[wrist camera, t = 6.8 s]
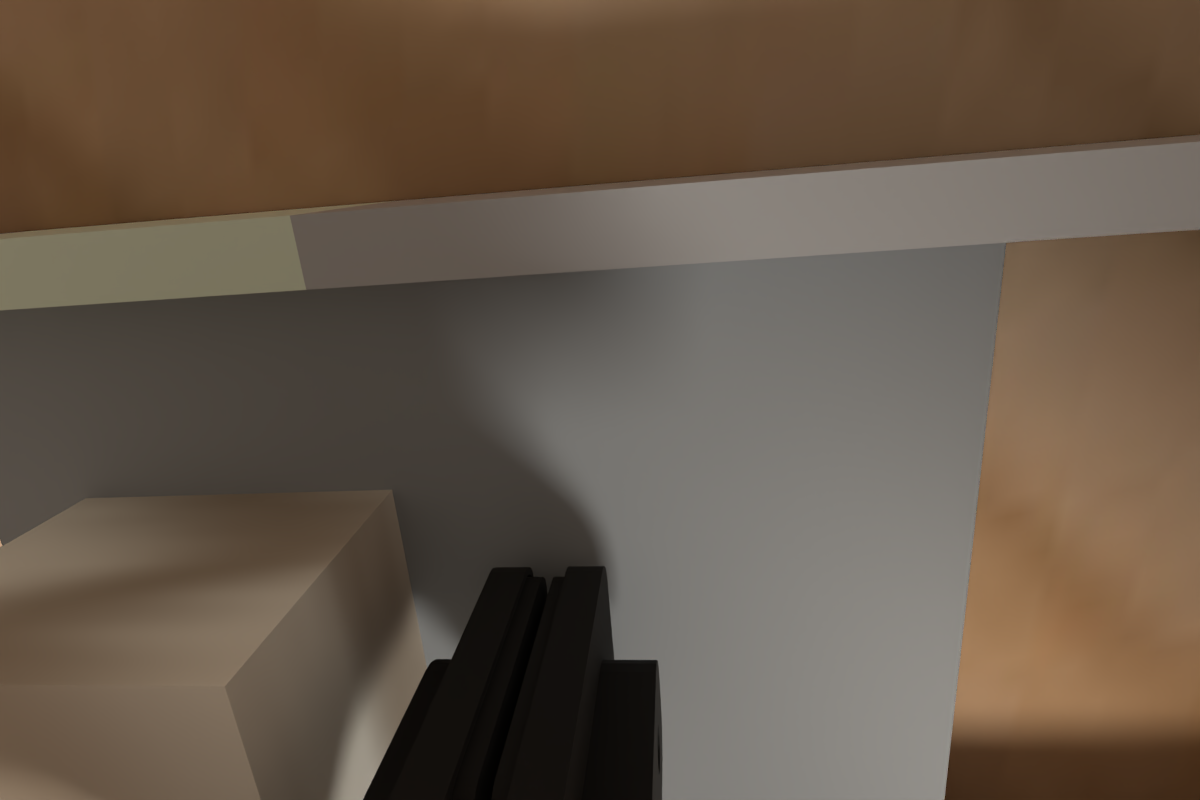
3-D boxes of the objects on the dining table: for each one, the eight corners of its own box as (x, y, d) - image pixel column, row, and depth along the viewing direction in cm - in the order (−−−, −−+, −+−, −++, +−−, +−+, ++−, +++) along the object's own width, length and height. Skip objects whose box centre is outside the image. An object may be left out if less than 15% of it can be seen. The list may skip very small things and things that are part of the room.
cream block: (391, 489, 10) (224, 686, 6) (443, 752, 12) (335, 1035, 8) (86, 498, 11) (-236, 682, 7) (175, 747, 12) (-46, 1008, 8)
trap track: (1564, 104, 8) (2023, 74, 6) (1298, 867, 13) (1480, 1072, 10) (-426, 268, 12) (-767, 300, 9) (-114, 821, 16) (-281, 961, 13)
